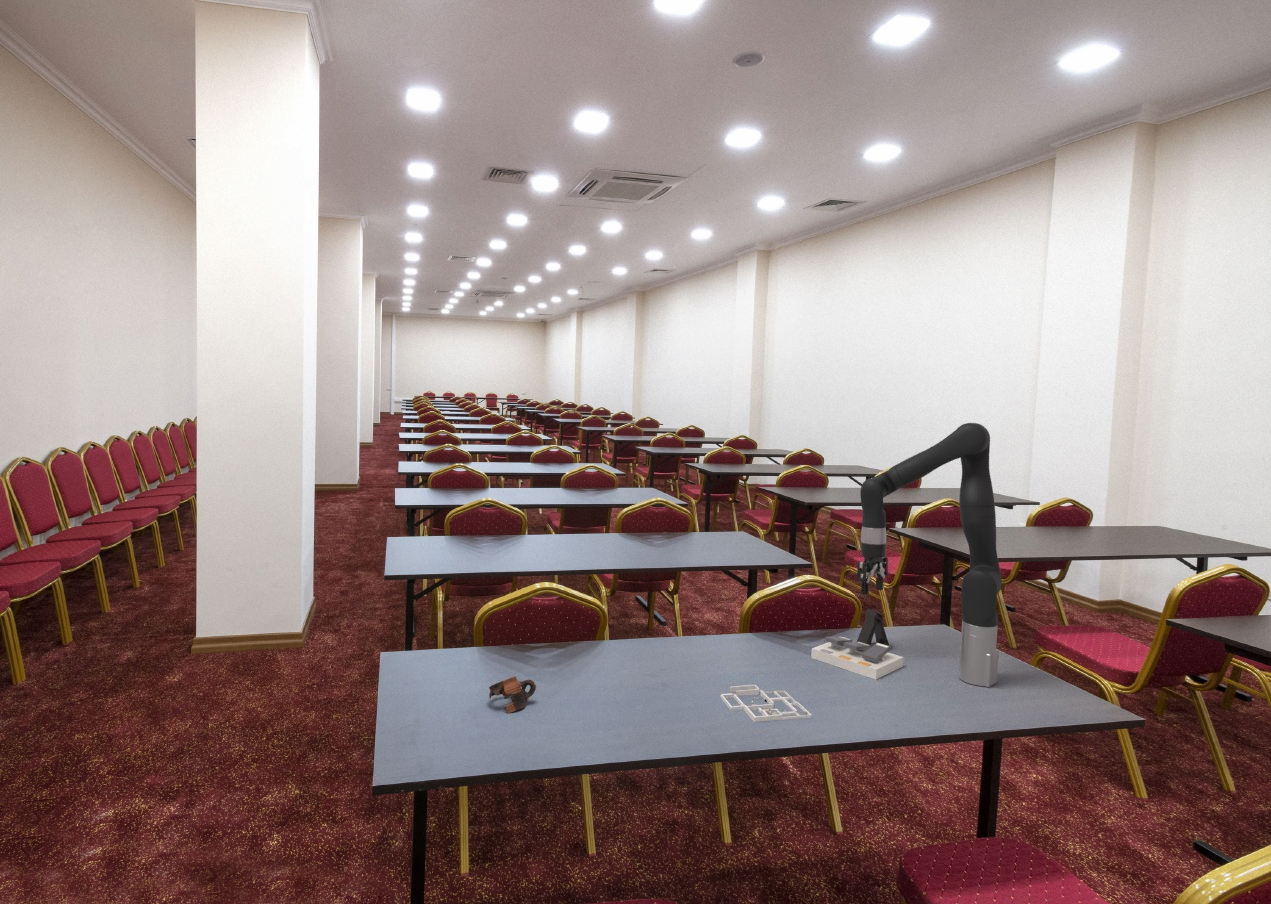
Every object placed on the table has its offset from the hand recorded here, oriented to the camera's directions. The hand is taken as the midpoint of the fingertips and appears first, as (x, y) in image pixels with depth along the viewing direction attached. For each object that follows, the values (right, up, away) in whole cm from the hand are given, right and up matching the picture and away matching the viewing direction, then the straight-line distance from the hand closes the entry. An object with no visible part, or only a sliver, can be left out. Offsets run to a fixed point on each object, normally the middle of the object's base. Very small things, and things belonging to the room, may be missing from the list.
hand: (872, 592), depth 218 cm
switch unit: (-6, -21, -3) cm, 22 cm away
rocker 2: (-6, -17, -4) cm, 18 cm away
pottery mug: (-106, -22, -38) cm, 115 cm away
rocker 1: (-10, -16, +1) cm, 19 cm away
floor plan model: (-44, -23, -36) cm, 61 cm away
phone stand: (+4, -21, +11) cm, 24 cm away
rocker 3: (-2, -17, -9) cm, 19 cm away
